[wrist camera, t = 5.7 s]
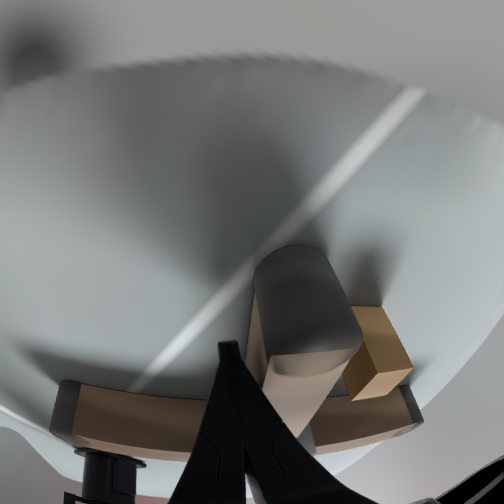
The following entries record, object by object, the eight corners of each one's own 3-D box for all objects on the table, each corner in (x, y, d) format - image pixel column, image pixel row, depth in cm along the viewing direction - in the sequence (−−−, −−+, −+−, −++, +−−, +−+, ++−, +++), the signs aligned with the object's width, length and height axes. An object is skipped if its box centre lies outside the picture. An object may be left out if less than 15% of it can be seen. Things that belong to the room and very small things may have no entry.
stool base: (339, 444, 25) (347, 472, 22) (101, 443, 20) (98, 475, 17) (482, 306, 13) (510, 348, 11) (5, 266, 8) (-36, 334, 5)
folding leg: (288, 386, 14) (299, 437, 12) (238, 389, 14) (244, 442, 11) (338, 245, 9) (377, 315, 7) (257, 244, 9) (275, 321, 6)
